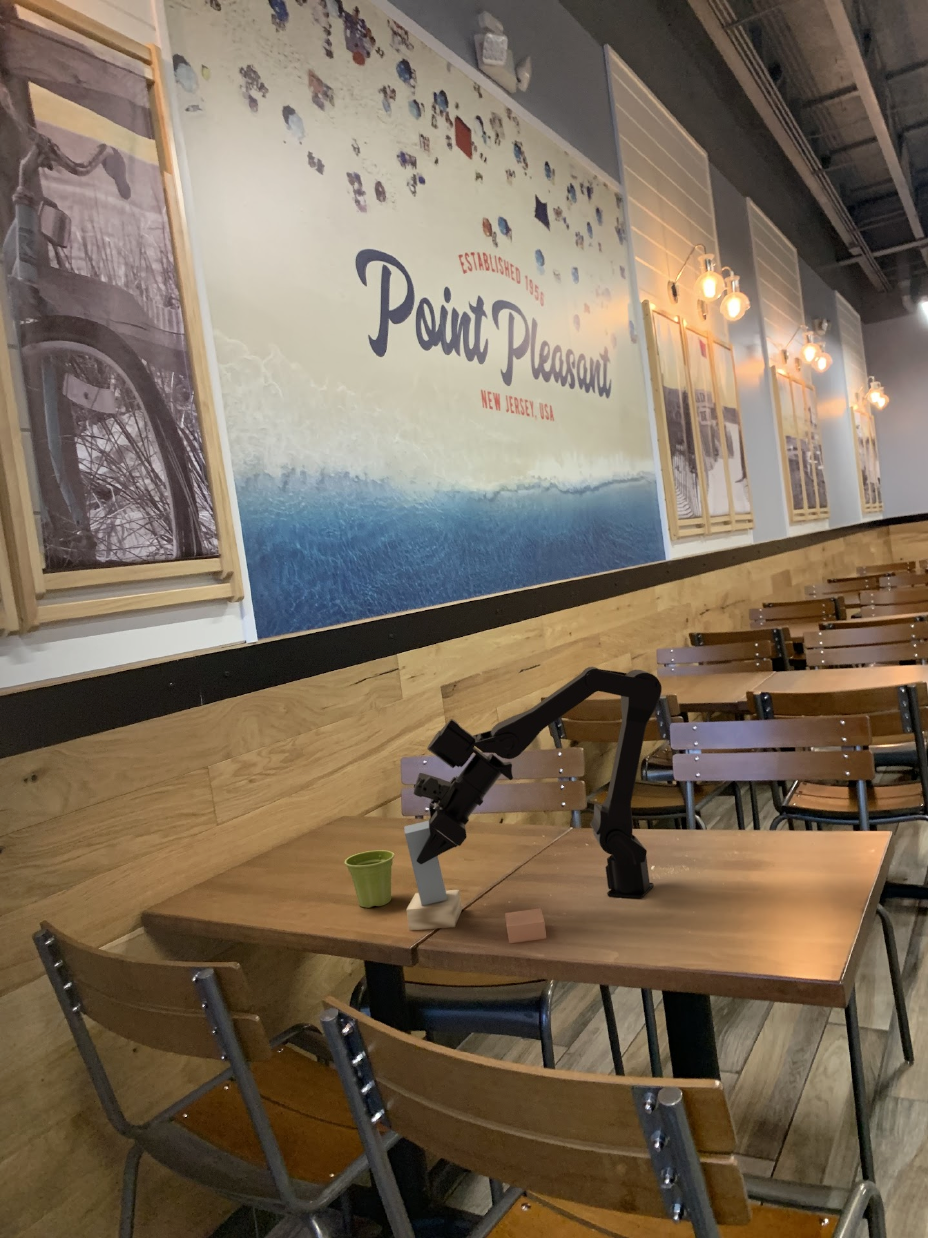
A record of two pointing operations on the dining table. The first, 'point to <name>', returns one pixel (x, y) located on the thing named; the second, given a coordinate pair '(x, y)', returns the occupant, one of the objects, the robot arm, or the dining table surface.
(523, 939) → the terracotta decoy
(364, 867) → the plant pot
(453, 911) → the birch base
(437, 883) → the slate post
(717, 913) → the dining table surface
